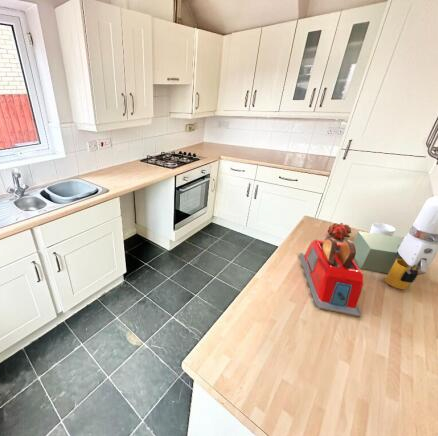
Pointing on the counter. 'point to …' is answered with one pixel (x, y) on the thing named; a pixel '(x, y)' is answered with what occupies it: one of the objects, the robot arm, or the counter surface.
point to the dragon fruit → (339, 231)
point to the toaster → (333, 275)
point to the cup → (398, 274)
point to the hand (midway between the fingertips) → (401, 274)
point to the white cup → (382, 229)
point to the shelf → (376, 251)
